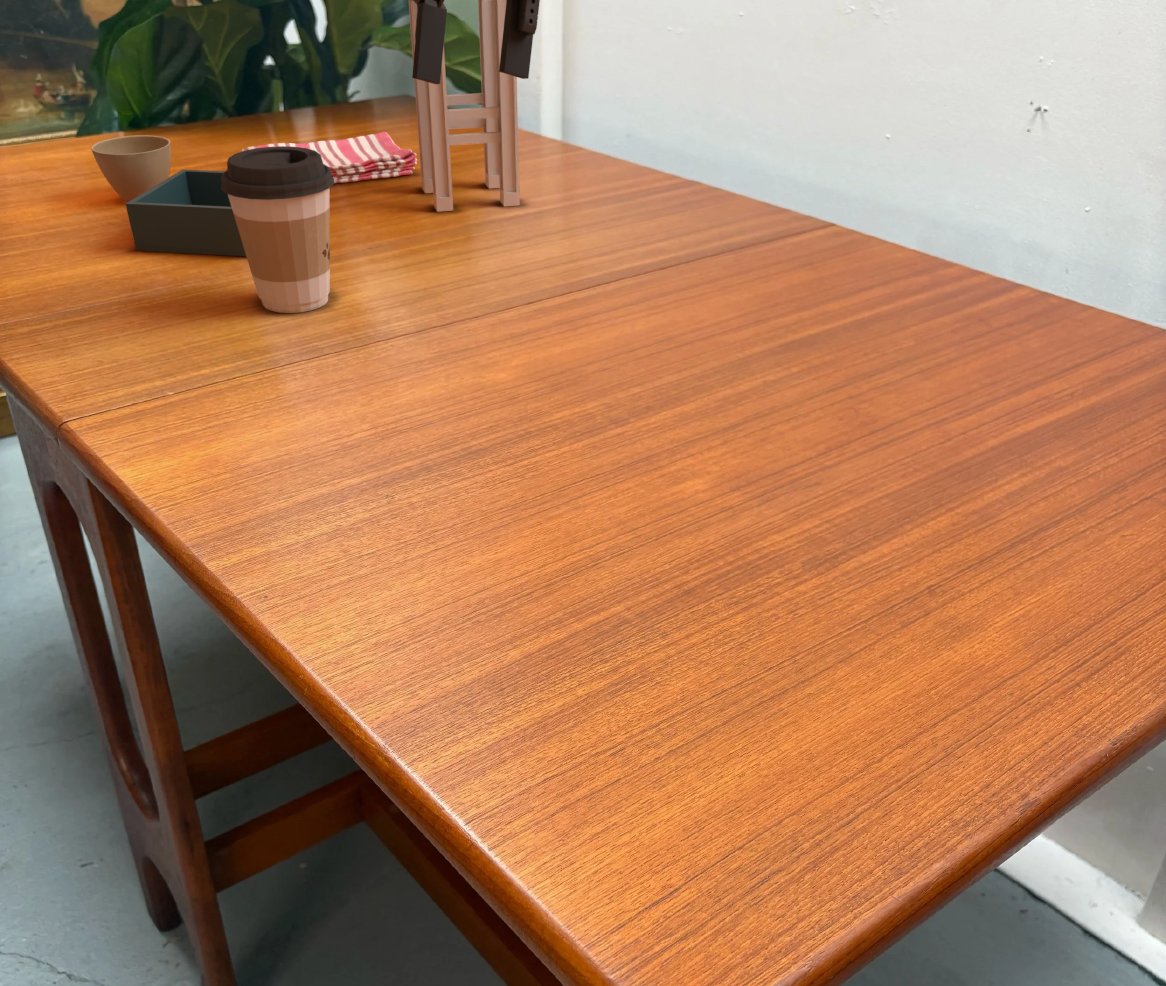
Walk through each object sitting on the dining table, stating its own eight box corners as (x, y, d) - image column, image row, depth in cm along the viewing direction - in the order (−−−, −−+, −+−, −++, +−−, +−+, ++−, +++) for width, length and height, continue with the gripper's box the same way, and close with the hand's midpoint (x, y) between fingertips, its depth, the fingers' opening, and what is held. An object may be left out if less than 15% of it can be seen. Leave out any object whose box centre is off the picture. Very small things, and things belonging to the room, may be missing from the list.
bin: (135, 250, 133) (125, 203, 129) (190, 213, 145) (182, 169, 142) (259, 257, 131) (252, 209, 128) (304, 218, 144) (298, 174, 140)
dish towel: (421, 174, 162) (419, 149, 160) (262, 192, 153) (257, 166, 151) (386, 148, 174) (384, 125, 172) (238, 163, 166) (233, 139, 164)
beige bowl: (113, 189, 154) (101, 135, 150) (187, 187, 155) (176, 134, 151) (95, 210, 146) (82, 154, 142) (173, 208, 147) (161, 152, 143)
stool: (538, 208, 148) (534, -96, 128) (424, 217, 144) (402, -95, 124) (510, 178, 160) (502, -104, 140) (405, 186, 157) (381, -103, 137)
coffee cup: (357, 312, 117) (340, 166, 108) (248, 326, 113) (221, 176, 105) (338, 278, 125) (321, 140, 117) (236, 289, 122) (210, 148, 113)
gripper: (623, -198, 89) (588, 82, 95) (446, -144, 107) (425, 91, 112) (554, -238, 84) (521, 61, 90) (380, -173, 102) (361, 74, 107)
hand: (467, 78), depth 101 cm, fingers open, 13 cm apart
